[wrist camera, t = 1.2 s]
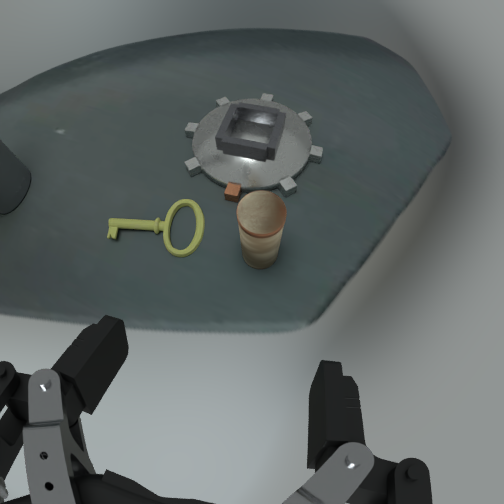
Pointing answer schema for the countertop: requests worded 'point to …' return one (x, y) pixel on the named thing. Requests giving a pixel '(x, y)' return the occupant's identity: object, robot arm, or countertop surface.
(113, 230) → the key
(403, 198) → the countertop surface
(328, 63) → the countertop surface
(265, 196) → the pin
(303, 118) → the sprocket plate
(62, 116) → the countertop surface
